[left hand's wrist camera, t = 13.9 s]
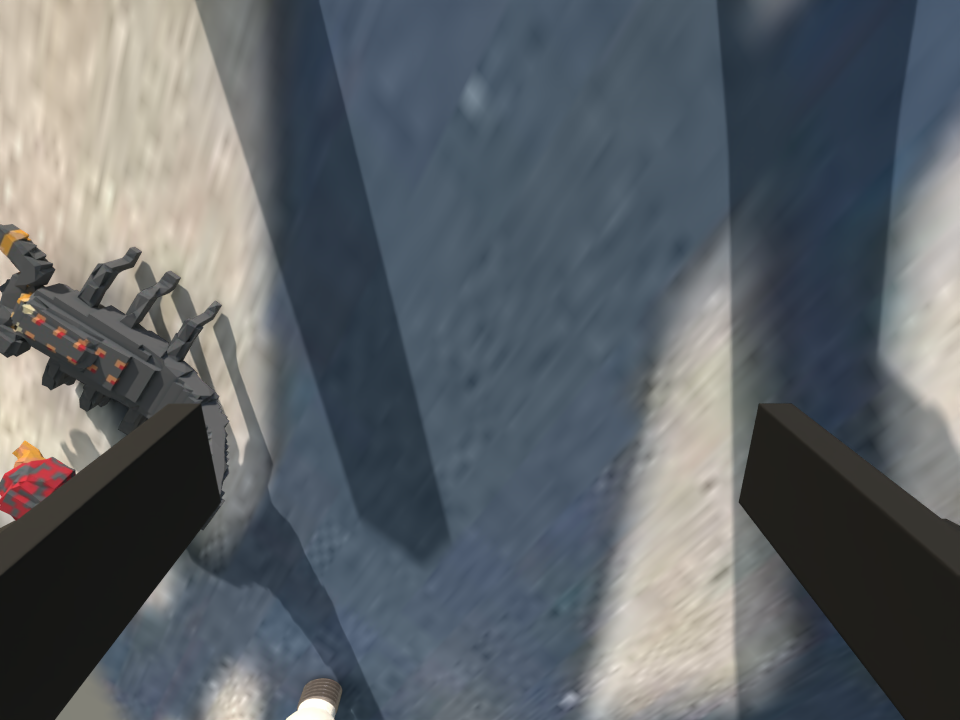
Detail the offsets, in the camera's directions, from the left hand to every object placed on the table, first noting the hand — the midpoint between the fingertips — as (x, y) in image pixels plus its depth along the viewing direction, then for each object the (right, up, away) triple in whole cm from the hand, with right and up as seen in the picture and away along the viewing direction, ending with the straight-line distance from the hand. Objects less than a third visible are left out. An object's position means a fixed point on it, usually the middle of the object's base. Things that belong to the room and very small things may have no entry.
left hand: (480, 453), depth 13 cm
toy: (-28, +5, +29) cm, 40 cm away
